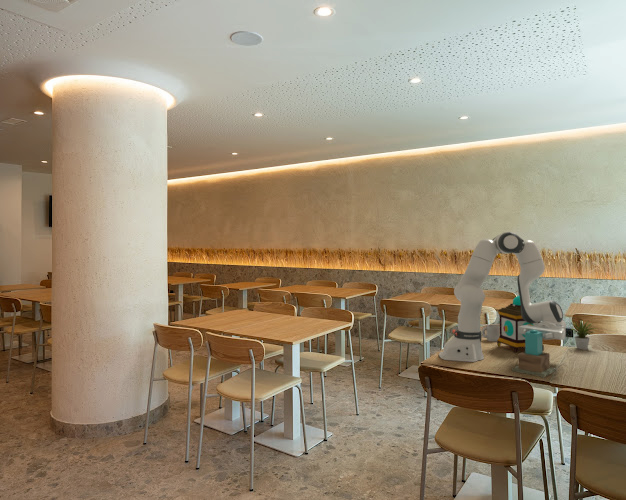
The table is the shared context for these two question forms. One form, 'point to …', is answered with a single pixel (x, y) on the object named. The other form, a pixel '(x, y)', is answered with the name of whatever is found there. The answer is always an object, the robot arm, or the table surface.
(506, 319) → the decorative lantern
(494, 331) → the cup
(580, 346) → the house plant
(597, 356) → the table surface
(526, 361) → the tower base
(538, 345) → the teal brick
